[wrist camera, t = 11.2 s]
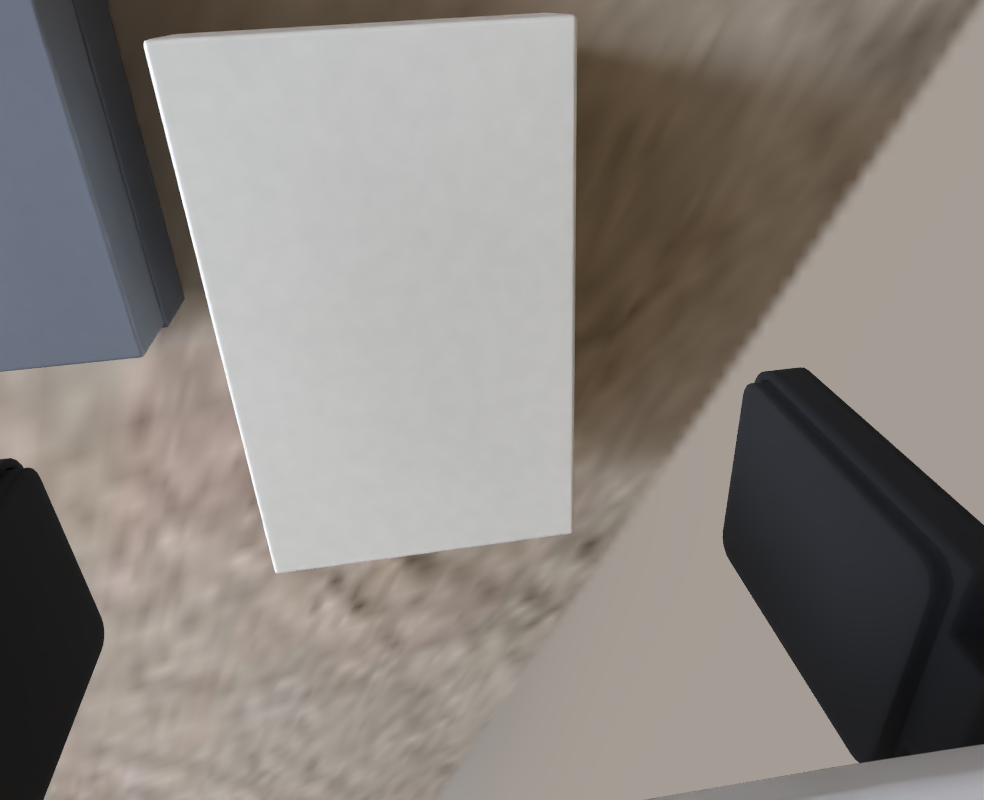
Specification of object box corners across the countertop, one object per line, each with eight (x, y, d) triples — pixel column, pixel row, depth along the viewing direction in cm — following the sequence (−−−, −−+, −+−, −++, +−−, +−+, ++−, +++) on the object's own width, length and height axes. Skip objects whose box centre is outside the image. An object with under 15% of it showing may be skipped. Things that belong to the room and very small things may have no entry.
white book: (172, 33, 13) (140, 40, 11) (549, 12, 14) (578, 14, 12) (284, 516, 19) (274, 575, 17) (553, 482, 19) (574, 534, 18)
